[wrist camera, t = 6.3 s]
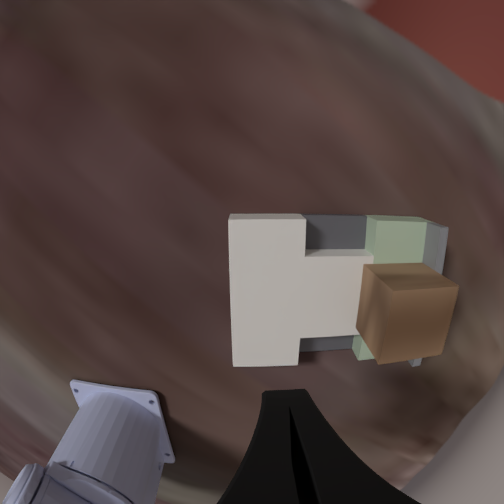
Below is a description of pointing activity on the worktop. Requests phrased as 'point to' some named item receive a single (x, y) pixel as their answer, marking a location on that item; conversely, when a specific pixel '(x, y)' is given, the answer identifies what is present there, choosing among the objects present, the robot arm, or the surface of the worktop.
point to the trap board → (313, 278)
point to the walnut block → (404, 311)
